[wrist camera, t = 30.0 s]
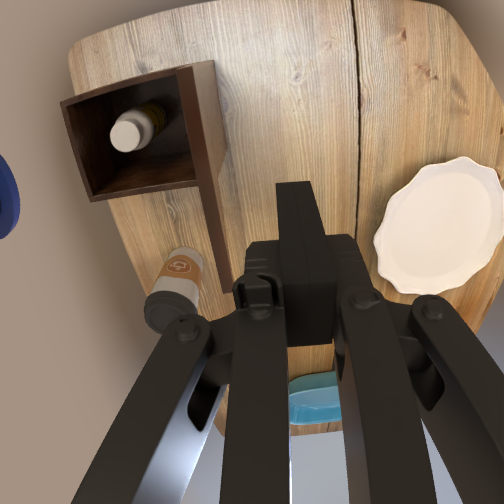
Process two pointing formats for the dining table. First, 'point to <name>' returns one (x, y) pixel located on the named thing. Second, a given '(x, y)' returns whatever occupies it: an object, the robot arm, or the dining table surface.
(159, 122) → the supplement bottle
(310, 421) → the casserole dish
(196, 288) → the coffee cup
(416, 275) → the plate
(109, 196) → the chest
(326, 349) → the dining table surface
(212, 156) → the lid
